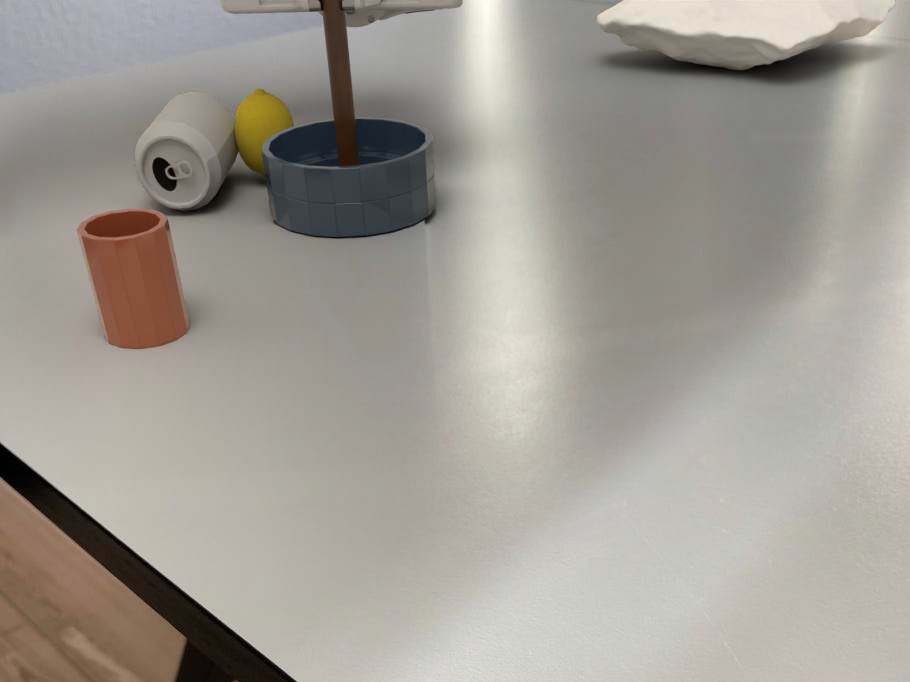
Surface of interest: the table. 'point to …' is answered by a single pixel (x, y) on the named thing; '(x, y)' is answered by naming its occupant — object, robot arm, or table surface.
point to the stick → (340, 82)
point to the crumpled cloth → (740, 27)
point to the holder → (134, 277)
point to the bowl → (350, 178)
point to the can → (187, 151)
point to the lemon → (259, 126)
